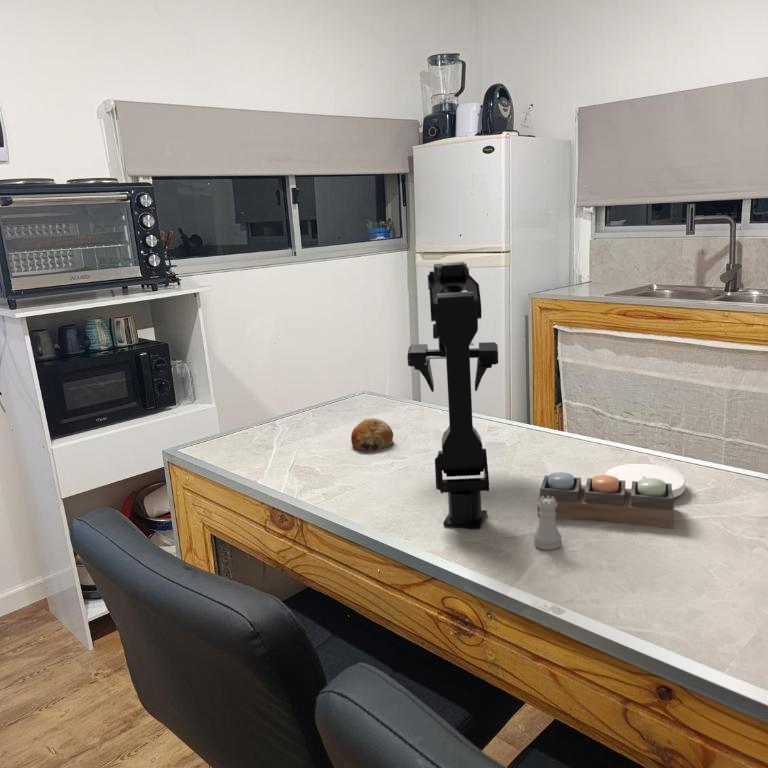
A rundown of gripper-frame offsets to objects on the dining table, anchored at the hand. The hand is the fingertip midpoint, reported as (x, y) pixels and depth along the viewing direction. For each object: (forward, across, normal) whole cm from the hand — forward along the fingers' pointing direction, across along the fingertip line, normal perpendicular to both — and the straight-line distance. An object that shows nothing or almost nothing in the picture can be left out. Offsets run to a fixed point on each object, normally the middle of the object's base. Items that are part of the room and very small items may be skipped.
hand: (454, 390), depth 152 cm
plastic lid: (+11, -36, +22) cm, 43 cm away
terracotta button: (+4, -27, +31) cm, 41 cm away
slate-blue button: (+5, -19, +29) cm, 36 cm away
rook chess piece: (+6, -16, +44) cm, 47 cm away
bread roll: (+17, +20, -5) cm, 27 cm away
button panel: (+8, -27, +32) cm, 42 cm away
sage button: (+4, -34, +33) cm, 47 cm away
